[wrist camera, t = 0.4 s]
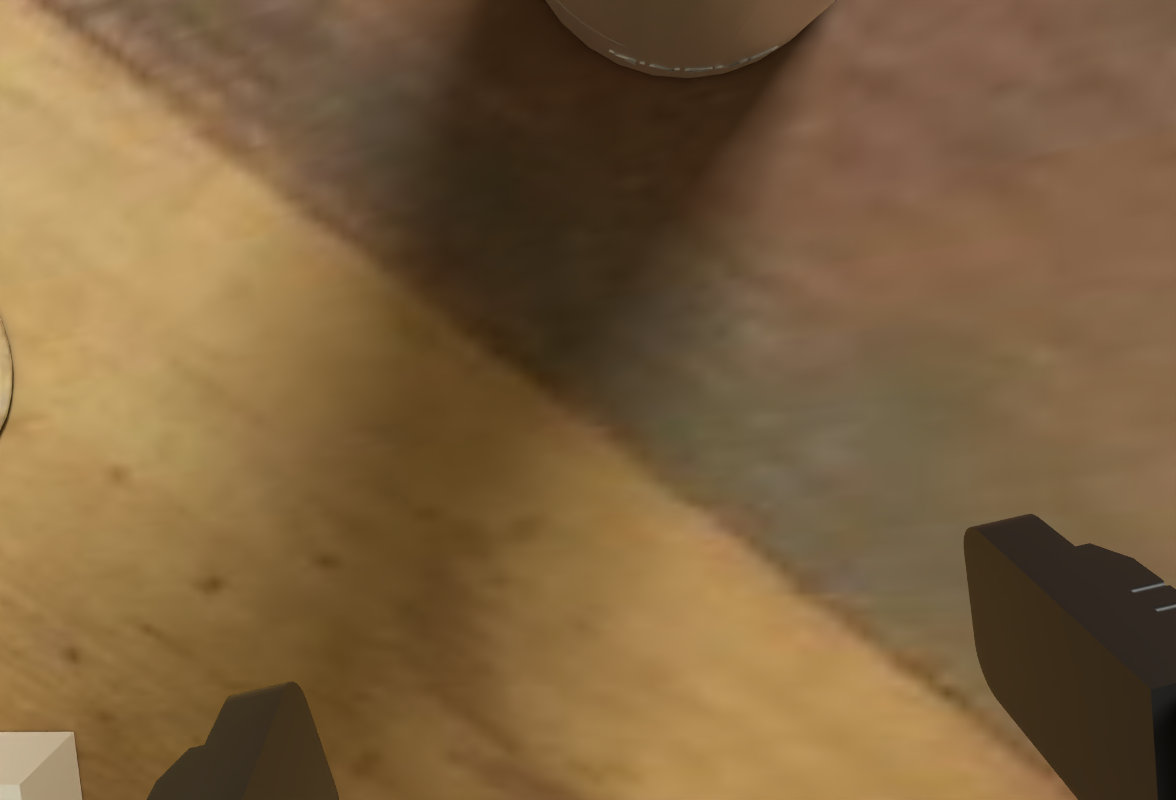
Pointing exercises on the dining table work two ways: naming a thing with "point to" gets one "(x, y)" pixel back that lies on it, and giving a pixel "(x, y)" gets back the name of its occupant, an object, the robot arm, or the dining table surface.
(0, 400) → the hand bell
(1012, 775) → the dining table surface
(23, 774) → the stone slab
